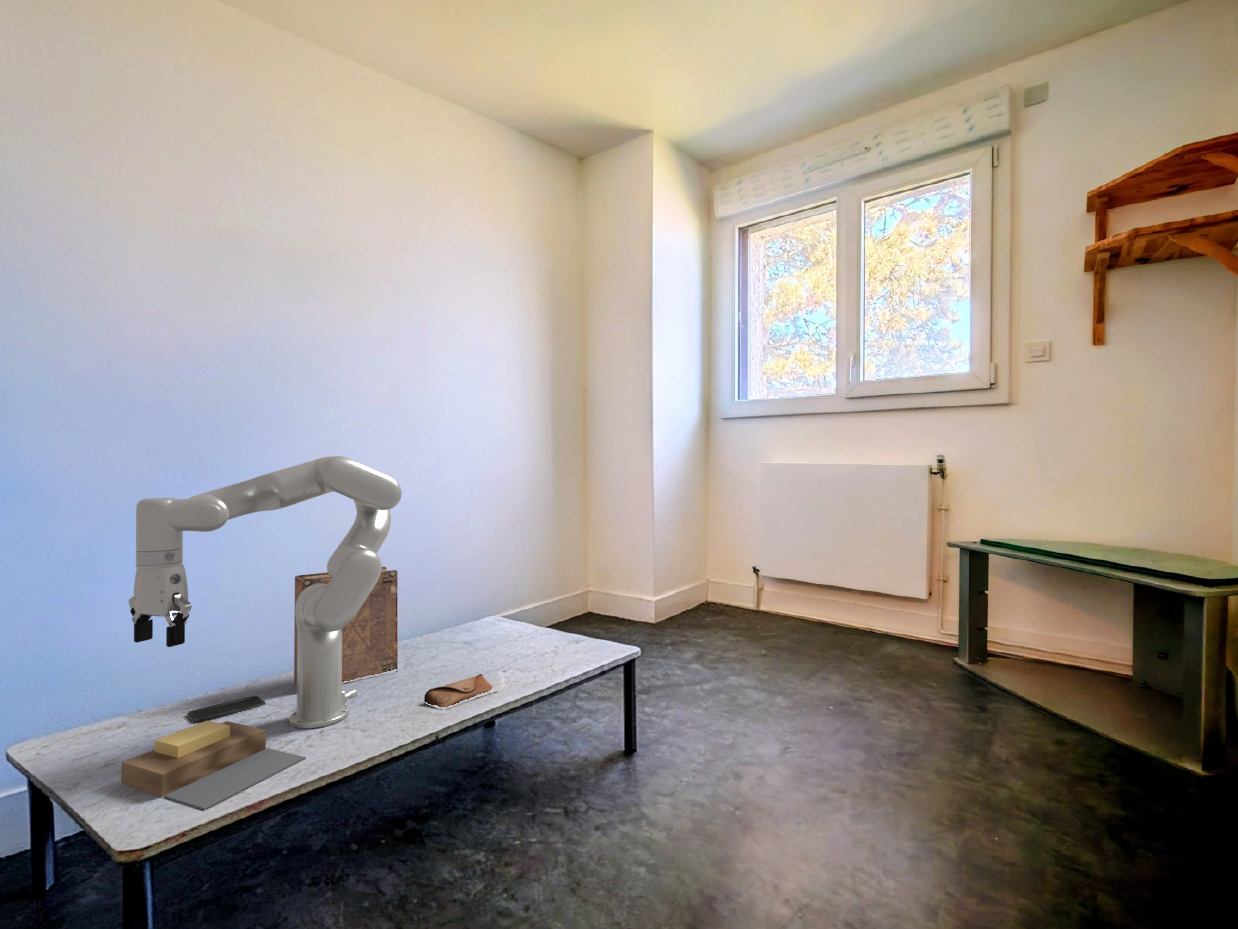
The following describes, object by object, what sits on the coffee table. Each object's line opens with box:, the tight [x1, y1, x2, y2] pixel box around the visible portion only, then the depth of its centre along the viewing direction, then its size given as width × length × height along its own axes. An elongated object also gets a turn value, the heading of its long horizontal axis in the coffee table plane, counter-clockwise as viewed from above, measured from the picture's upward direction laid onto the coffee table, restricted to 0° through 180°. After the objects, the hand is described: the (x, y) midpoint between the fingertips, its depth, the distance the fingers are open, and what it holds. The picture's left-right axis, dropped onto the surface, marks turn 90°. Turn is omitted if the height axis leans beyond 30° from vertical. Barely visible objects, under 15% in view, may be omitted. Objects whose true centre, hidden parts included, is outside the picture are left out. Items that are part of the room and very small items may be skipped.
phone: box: [186, 695, 266, 724], centre depth 145 cm, size 8×1×15 cm
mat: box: [163, 747, 307, 811], centre depth 113 cm, size 20×11×1 cm, turn 158°
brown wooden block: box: [120, 720, 267, 798], centre depth 117 cm, size 20×12×4 cm, turn 158°
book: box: [293, 566, 398, 686], centre depth 168 cm, size 25×9×30 cm, turn 132°
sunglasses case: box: [423, 673, 493, 707], centre depth 154 cm, size 18×7×7 cm
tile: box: [154, 720, 230, 758], centre depth 118 cm, size 10×7×2 cm
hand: (159, 643), depth 120 cm, fingers open, 9 cm apart
